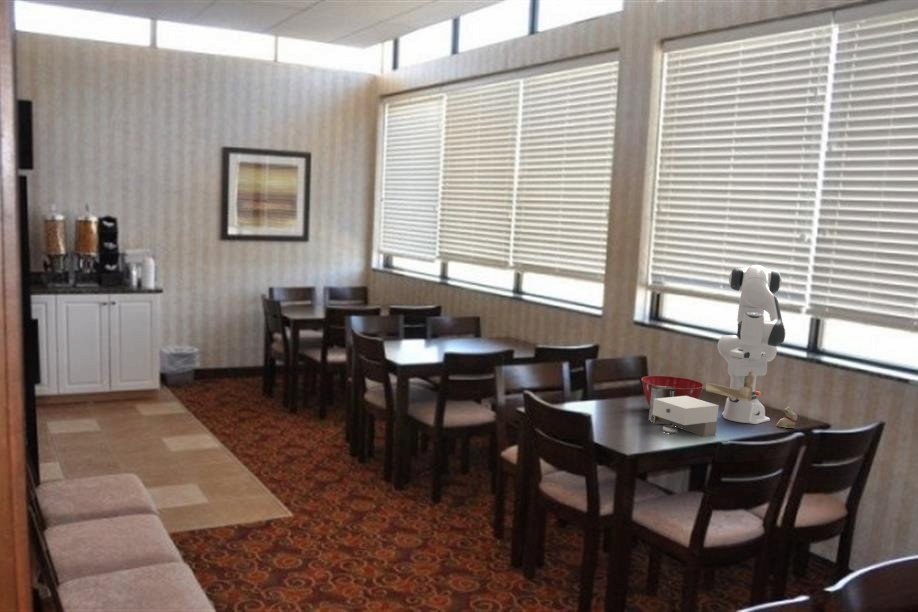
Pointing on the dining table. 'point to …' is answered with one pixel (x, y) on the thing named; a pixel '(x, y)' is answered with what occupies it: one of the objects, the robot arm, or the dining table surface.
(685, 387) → the mixing bowl
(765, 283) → the robot arm
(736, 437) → the dining table surface
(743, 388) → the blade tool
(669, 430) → the steel token
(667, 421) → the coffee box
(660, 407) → the cabinet
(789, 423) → the chocolate bunny
